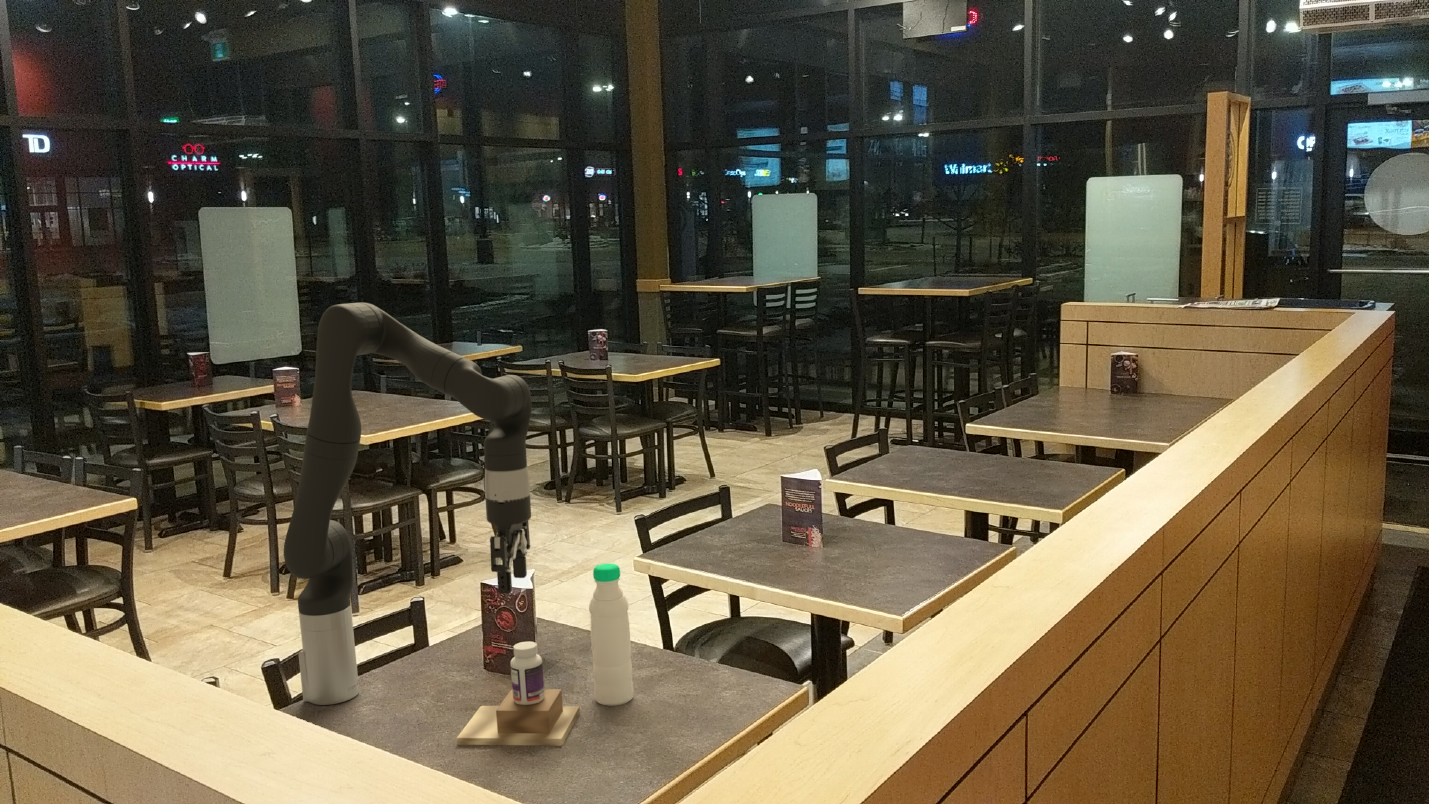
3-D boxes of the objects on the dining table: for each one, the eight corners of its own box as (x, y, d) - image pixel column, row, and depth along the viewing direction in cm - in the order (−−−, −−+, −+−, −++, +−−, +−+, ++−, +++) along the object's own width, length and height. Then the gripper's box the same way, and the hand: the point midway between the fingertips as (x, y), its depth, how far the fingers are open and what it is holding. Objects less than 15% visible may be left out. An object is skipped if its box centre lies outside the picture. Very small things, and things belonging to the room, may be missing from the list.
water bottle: (587, 703, 208) (578, 569, 204) (608, 689, 214) (600, 558, 210) (620, 709, 205) (612, 573, 201) (641, 694, 211) (633, 562, 207)
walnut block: (497, 733, 195) (495, 710, 194) (513, 710, 203) (511, 689, 203) (549, 733, 193) (548, 710, 193) (562, 711, 202) (561, 689, 202)
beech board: (457, 744, 194) (456, 737, 193) (481, 712, 206) (480, 705, 206) (561, 745, 191) (561, 738, 191) (579, 712, 204) (579, 706, 204)
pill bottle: (548, 693, 200) (544, 639, 199) (540, 706, 195) (536, 651, 194) (517, 693, 201) (513, 639, 199) (509, 706, 196) (505, 651, 194)
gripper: (499, 483, 204) (504, 572, 206) (472, 503, 190) (478, 598, 192) (540, 483, 203) (545, 572, 205) (516, 503, 189) (521, 599, 191)
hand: (512, 585), depth 199 cm, fingers open, 8 cm apart
